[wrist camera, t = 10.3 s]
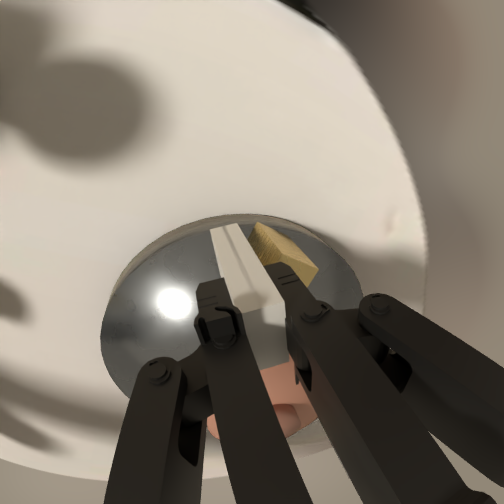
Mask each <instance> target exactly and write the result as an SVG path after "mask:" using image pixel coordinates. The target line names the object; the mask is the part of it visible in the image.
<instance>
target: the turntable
mask: <svg viewBox="0 0 504 504" xmlns="http://www.w3.org/2000/svg"><path fill="white" fill-rule="evenodd" d="M235 223H237V224H238V226H239V227H240V229H241V231H242V232H243V234H244V236H245V237H246V239H247V241H248V242H249V244H250V246H251V247H252V249H253V251H254V252H255V254H256V255H257V257H258V259H259V260H260V262H261V264H262V265H263V266H266V265H269V264H273V263H277V262H283V263H285V264H287V265H289V266H291V268H292V269H293V270H294V272H295V273H296V274H297V275H298V277H299V278H300V280H301V281H302V282H303V283H304V285H305V286H306V287H307V288H308V290H309V291H310V292H311V294H312V295H313V296H314V298H315V299H316V300H320V301H323V302H326V303H328V304H329V305H331V306H332V307H333V308H334V309H335V310H345V309H355V308H359V304H360V301H361V300H362V299H363V293H362V290H361V287H360V283H359V281H358V279H357V277H356V275H355V273H354V271H353V270H352V269H351V267H350V266H349V265H348V264H347V262H346V261H345V260H344V259H343V258H342V257H341V256H340V255H338V254H337V253H336V252H335V251H334V250H333V249H332V248H330V247H329V246H328V245H327V244H326V243H325V242H324V241H322V240H321V239H320V238H319V237H318V236H317V235H315V234H313V233H312V232H310V231H308V230H307V229H305V228H303V227H301V226H299V225H297V224H294V223H292V222H289V221H287V220H283V219H279V218H275V217H271V216H264V215H254V214H231V215H222V216H216V217H210V218H205V219H202V220H198V221H195V222H192V223H189V224H186V225H183V226H181V227H179V228H177V229H175V230H172V231H170V232H168V233H166V234H164V235H163V236H161V237H160V238H158V239H157V240H155V241H154V242H152V243H151V244H149V245H148V246H147V247H145V248H144V249H143V250H142V251H141V252H140V253H139V254H138V255H136V256H135V257H134V258H133V259H132V261H131V262H130V263H129V264H128V266H127V267H126V268H125V269H124V270H123V272H122V273H121V275H120V277H119V279H118V280H117V282H116V284H115V286H114V288H113V291H112V293H111V296H110V299H109V302H108V305H107V308H106V312H105V315H104V318H103V321H102V328H101V336H100V339H101V352H102V356H103V360H104V363H105V366H106V368H107V370H108V372H109V375H110V376H111V378H112V379H113V381H114V382H115V384H116V385H117V386H118V387H119V389H120V390H121V391H122V392H123V393H124V394H125V395H126V396H127V397H128V398H130V397H131V394H132V391H133V388H134V385H135V381H136V378H137V375H138V373H139V371H140V369H141V367H142V366H143V365H145V364H146V363H147V362H148V361H150V360H152V359H154V358H158V357H170V358H173V359H175V360H176V361H180V360H182V359H184V358H186V357H187V356H189V355H191V354H192V353H193V352H194V351H196V350H197V349H198V347H199V346H200V344H201V343H200V341H199V338H198V335H197V333H196V330H195V328H194V319H195V317H196V316H197V314H198V313H199V312H198V306H197V299H196V290H197V287H198V285H199V283H203V282H207V281H211V280H215V279H219V278H221V276H220V271H219V267H218V263H217V259H216V254H215V250H214V246H213V241H212V237H211V232H210V229H213V228H218V227H222V226H226V225H230V224H235ZM207 427H208V426H207Z"/></svg>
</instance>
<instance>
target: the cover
mask: <svg viewBox="0 0 504 504" xmlns="http://www.w3.org/2000/svg"><path fill="white" fill-rule="evenodd" d="M289 360H290V361H289V362H286V363H283V364H280V365H276V366H273V367H270V368H266V369H263V370H260V373H261V376H262V378H263V381H264V384H265V386H266V389H267V392H268V394H269V397H270V400H271V402H272V405H273V407H274V410H275V413H276V415H277V418H278V420H279V423H280V425H281V428H282V430H283V433H284V435H285V438H287V437H289V436H291V435H293V434H294V433H296V432H297V431H299V430H301V429H302V428H304V427H306V426H307V425H309V424H310V423H311V422H313V421H314V420H315V419H317V418H318V416H317V414H316V412H315V410H314V408H313V406H312V405H311V403H310V401H309V399H308V397H307V395H306V393H305V391H304V389H303V387H302V385H301V383H300V381H299V384H298V385H296V382H295V371H294V361H293V359H292V357H291V355H290V353H289ZM207 426H208V430H209V432H210V433H211V434H212V435H213V436H214V437H216V438H217V439H219V440H220V438H219V434H218V429H217V425H216V420H215V416H214V414H213V415H211V416H209V417H208V418H207Z"/></svg>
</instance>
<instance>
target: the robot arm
mask: <svg viewBox="0 0 504 504" xmlns="http://www.w3.org/2000/svg"><path fill="white" fill-rule="evenodd" d="M210 232H211V237H212V241H213V246H214V250H215V254H216V259H217V263H218V267H219V271H220V276H221V278H219V279H215V280H211V281H207V282H203V283H199V285H198V287H197V290H196V299H197V306H198V312H199V313H198V314H197V316H196V317H195V319H194V328H195V330H196V333H197V335H198V338H199V341H200V343H201V344H200V346H199V347H198V349H197V350H196V351H194V352H193V353H192V354H191V355H189V356H187V357H186V358H184V359H182V360H180V361H176V360H175V359H173V358H170V357H158V358H154V359H152V360H150V361H148V362H147V363H146V364H145V365H143V366H142V367H141V369H140V371H139V373H138V375H137V378H136V381H135V385H134V388H133V391H132V394H131V397H130V401H129V404H128V407H127V411H126V414H125V418H124V421H123V425H122V428H121V432H120V435H119V439H118V443H117V447H116V451H115V455H114V459H113V463H112V467H111V471H110V475H109V480H108V485H107V489H106V494H105V499H104V504H200V500H201V486H202V473H203V461H204V449H205V438H206V427H207V418H208V417H209V416H211V415H213V414H214V416H215V420H216V425H217V429H218V434H219V438H220V443H221V447H222V451H223V455H224V459H225V463H226V467H227V471H228V475H229V479H230V482H231V486H232V489H233V493H234V496H235V500H236V503H237V504H313V502H312V500H311V498H310V495H309V493H308V491H307V489H306V486H305V484H304V482H303V479H302V477H301V474H300V472H299V470H298V467H297V465H296V462H295V460H294V458H293V455H292V453H291V450H290V448H289V445H288V443H287V440H286V438H285V435H284V433H283V430H282V428H281V425H280V423H279V420H278V418H277V415H276V413H275V410H274V407H273V405H272V402H271V400H270V397H269V394H268V392H267V389H266V386H265V384H264V381H263V378H262V376H261V373H260V370H263V369H266V368H270V367H273V366H276V365H280V364H283V363H286V362H289V361H290V360H289V353H290V355H291V357H292V359H293V361H294V371H295V382H296V385H298V384H299V381H300V383H301V385H302V387H303V389H304V391H305V393H306V395H307V397H308V399H309V401H310V403H311V405H312V406H313V408H314V410H315V412H316V414H317V416H318V418H319V420H320V422H321V424H322V426H323V428H324V430H325V432H326V434H327V436H328V438H329V439H330V441H331V443H332V445H333V447H334V449H335V451H336V453H337V455H338V457H339V459H340V461H341V462H342V464H343V466H344V468H345V470H346V472H347V474H348V476H349V478H350V479H351V481H352V483H353V485H354V487H355V489H356V491H357V493H358V494H359V496H360V498H361V500H362V502H363V504H497V503H496V502H495V501H494V499H493V498H492V497H491V496H489V495H487V494H485V493H484V492H479V491H473V490H471V489H470V488H468V487H467V486H466V484H465V483H464V482H463V480H462V479H461V477H460V476H459V474H458V473H457V471H456V470H455V469H454V467H453V466H452V464H451V463H450V461H449V460H448V458H447V457H446V455H445V454H444V453H443V451H442V450H441V449H440V447H439V446H438V444H437V443H436V442H435V440H434V439H433V438H432V436H431V435H430V433H431V434H433V435H434V436H435V437H436V438H438V439H439V440H440V441H441V442H443V443H444V444H445V445H446V446H448V447H449V448H450V449H451V450H453V451H454V452H455V453H456V454H458V455H459V456H460V457H461V458H463V459H464V460H465V461H467V462H468V463H469V464H470V465H472V466H473V467H474V468H476V469H477V470H478V471H479V472H481V473H482V474H483V475H485V476H486V477H487V478H489V479H490V480H491V481H493V482H495V483H496V484H498V485H499V486H501V487H504V368H503V367H501V366H500V365H498V364H497V363H495V362H494V361H493V360H491V359H490V358H488V357H487V356H485V355H484V354H482V353H480V352H479V351H477V350H476V349H474V348H473V347H471V346H470V345H468V344H467V343H465V342H464V341H462V340H461V339H459V338H457V337H456V336H454V335H452V334H451V333H450V332H448V331H446V330H445V329H443V328H441V327H440V326H438V325H437V324H435V323H434V322H432V321H430V320H429V319H427V318H426V317H424V316H422V315H421V314H419V313H418V312H416V311H414V310H413V309H411V308H409V307H408V306H406V305H404V304H403V303H401V302H399V301H398V300H396V299H395V298H393V297H391V296H388V295H386V294H380V293H376V294H370V295H367V296H365V297H364V298H363V299H362V300H361V301H360V304H359V308H355V309H345V310H335V309H334V308H333V307H332V306H331V305H329V304H328V303H326V302H323V301H320V300H316V299H315V298H314V296H313V295H312V294H311V292H310V291H309V290H308V288H307V287H306V286H305V285H304V283H303V282H302V281H301V280H300V278H299V277H298V275H297V274H296V273H295V272H294V270H293V269H292V268H291V266H289V265H287V264H285V263H283V262H277V263H273V264H269V265H266V266H263V265H262V264H261V262H260V260H259V259H258V257H257V255H256V254H255V252H254V251H253V249H252V247H251V246H250V244H249V242H248V241H247V239H246V237H245V236H244V234H243V232H242V231H241V229H240V227H239V226H238V224H237V223H235V224H230V225H226V226H222V227H218V228H213V229H210ZM390 348H391V349H390ZM428 431H429V432H430V433H429V432H428Z"/></svg>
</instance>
